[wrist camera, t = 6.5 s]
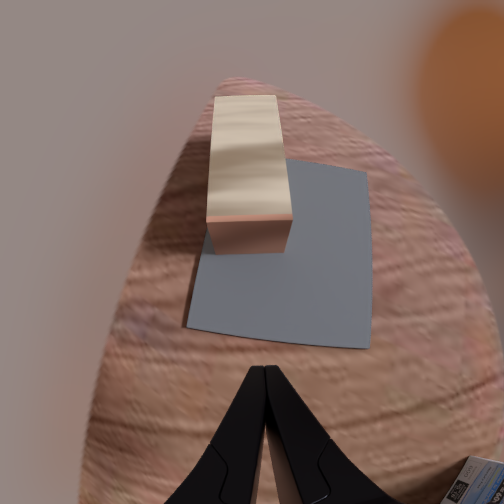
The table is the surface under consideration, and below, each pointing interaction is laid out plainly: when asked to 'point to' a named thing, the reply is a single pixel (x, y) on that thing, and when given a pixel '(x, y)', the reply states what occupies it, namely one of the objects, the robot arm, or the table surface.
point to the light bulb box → (478, 483)
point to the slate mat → (298, 270)
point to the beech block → (248, 177)
